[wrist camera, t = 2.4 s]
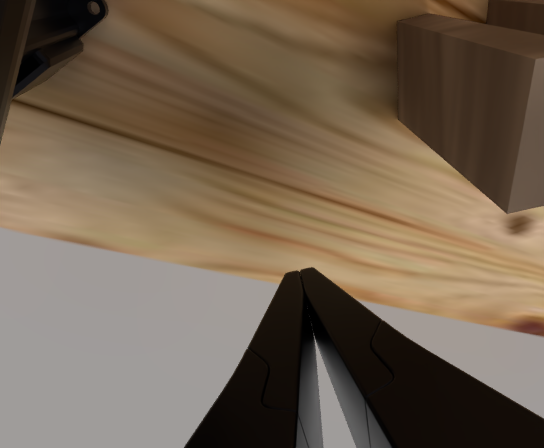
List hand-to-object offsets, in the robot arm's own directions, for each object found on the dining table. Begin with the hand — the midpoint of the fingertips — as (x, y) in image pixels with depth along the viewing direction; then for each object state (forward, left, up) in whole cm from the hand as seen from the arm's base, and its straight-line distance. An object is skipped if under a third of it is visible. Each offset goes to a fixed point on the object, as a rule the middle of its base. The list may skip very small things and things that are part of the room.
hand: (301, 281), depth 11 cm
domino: (+1, +8, -12) cm, 15 cm away
